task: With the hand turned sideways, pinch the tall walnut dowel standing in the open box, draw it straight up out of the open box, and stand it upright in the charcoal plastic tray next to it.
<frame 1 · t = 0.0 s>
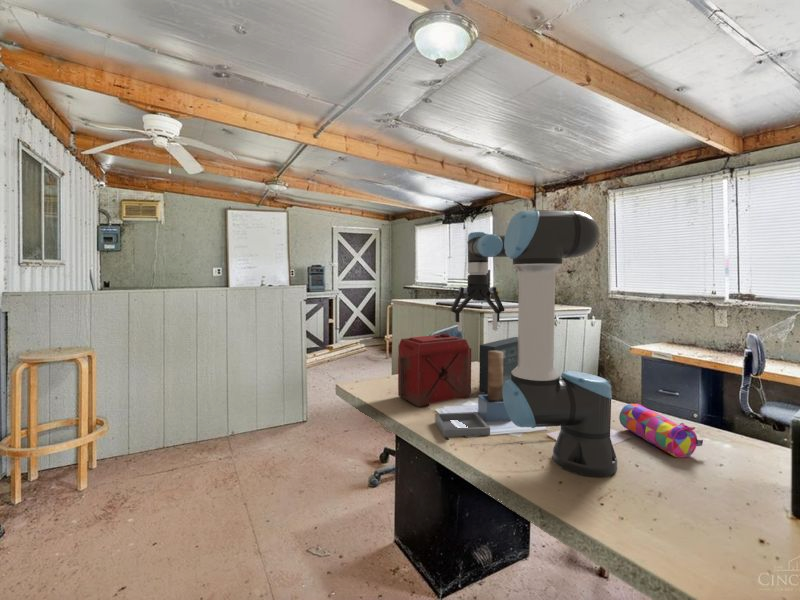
hand: (477, 330, 147), 28 cm above the table, tool pointing down, fingers open, 13 cm apart
jerry can: (431, 398, 156), on the table
open box: (494, 418, 133), on the table
electric trimmer: (639, 422, 131), on the table
pencil case: (656, 443, 114), on the table
dowel: (495, 415, 133), point 1 cm above the table, touching open box
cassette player: (504, 386, 172), on the table
tray: (461, 429, 124), on the table
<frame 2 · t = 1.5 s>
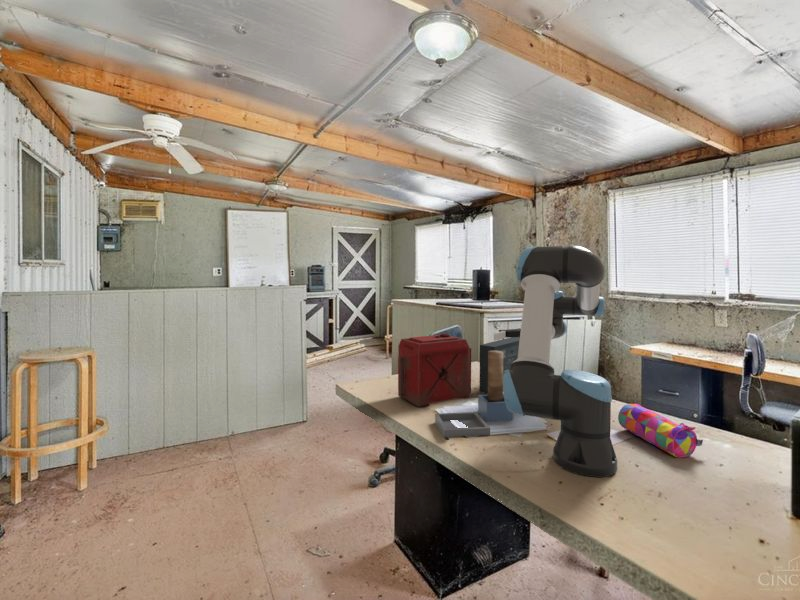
hand: (510, 339, 138), 26 cm above the table, tool horizontal, fingers open, 13 cm apart
nothing on the table moved.
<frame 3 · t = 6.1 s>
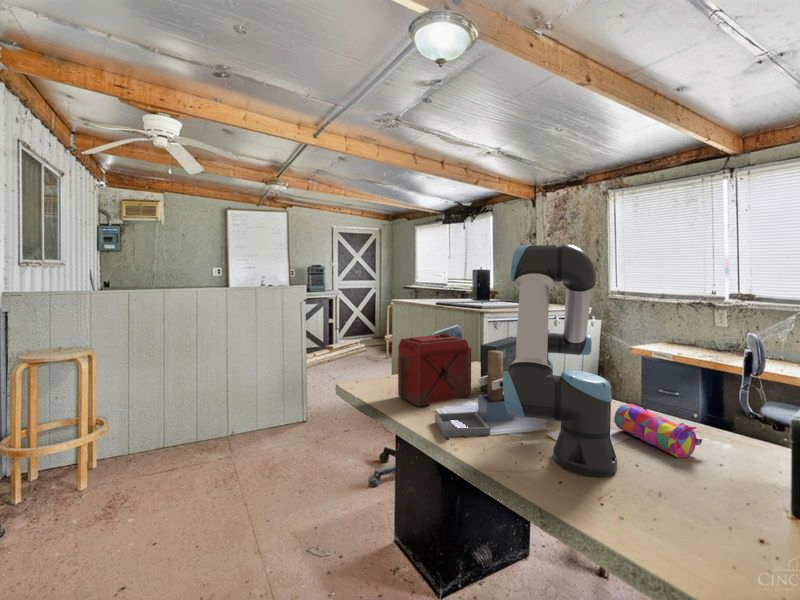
hand: (486, 383, 129), 13 cm above the table, tool horizontal, fingers closed on dowel, 5 cm apart
dowel: (495, 415, 133), point 1 cm above the table, touching open box, gripper
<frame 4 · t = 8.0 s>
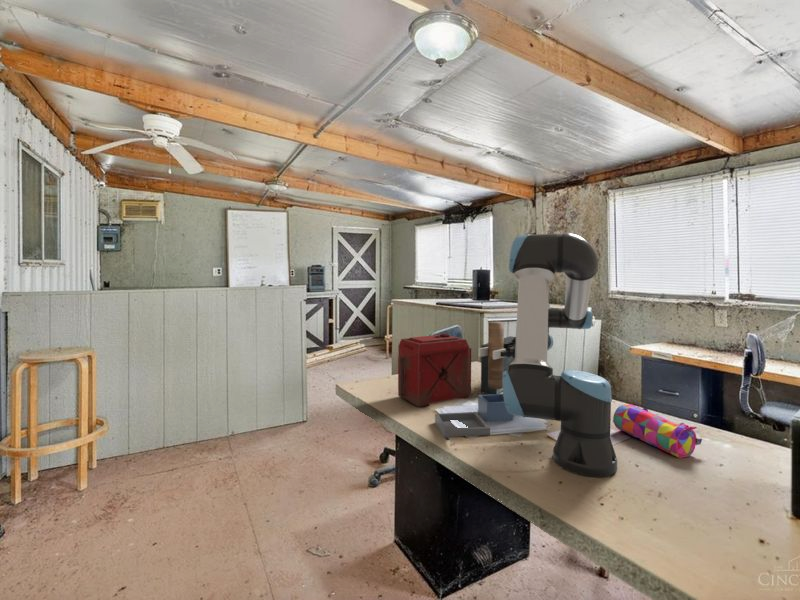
hand: (486, 354, 129), 23 cm above the table, tool horizontal, fingers closed on dowel, 5 cm apart
dowel: (495, 386, 133), point 11 cm above the table, touching gripper
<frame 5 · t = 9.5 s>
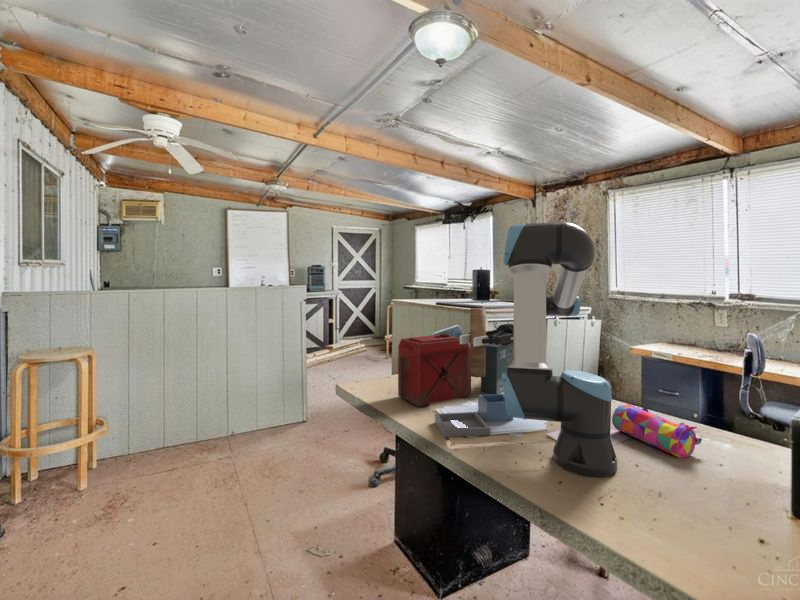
hand: (467, 341, 125), 28 cm above the table, tool horizontal, fingers closed on dowel, 5 cm apart
dowel: (477, 375, 129), point 16 cm above the table, touching gripper
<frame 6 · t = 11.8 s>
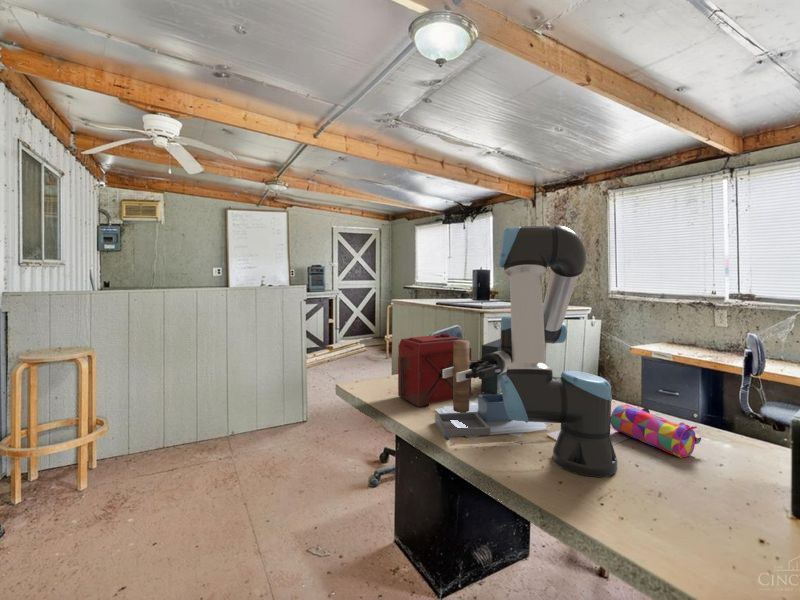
hand: (450, 375, 120), 18 cm above the table, tool horizontal, fingers closed on dowel, 5 cm apart
dowel: (461, 409, 124), point 6 cm above the table, touching gripper
when the fingers open (14 cm above the table, at t = 13.0 s): dowel stays where it is, resting on tray.
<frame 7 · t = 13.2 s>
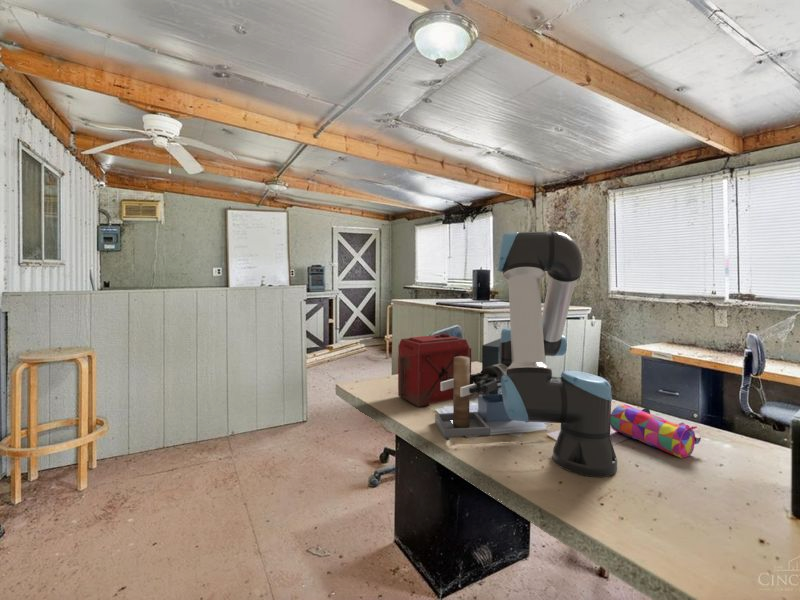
hand: (451, 389, 120), 14 cm above the table, tool horizontal, fingers open, 7 cm apart
dowel: (461, 426, 124), point 1 cm above the table, touching tray
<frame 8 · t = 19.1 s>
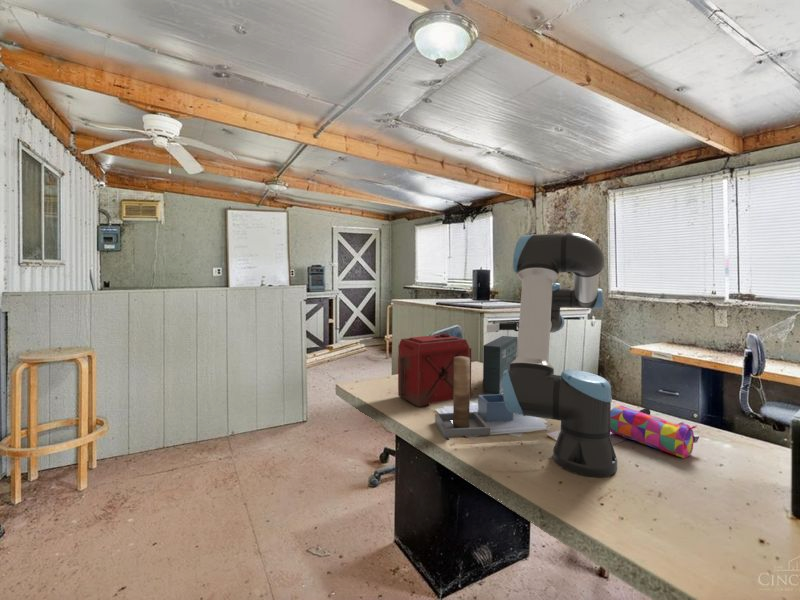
hand: (504, 330, 133), 30 cm above the table, tool horizontal, fingers open, 13 cm apart
at the end: dowel inside the target area on the tray (0.0 cm from its centre), point 1.0 cm above the tray's base; dowel tilted 0°; the gripper is holding nothing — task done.
